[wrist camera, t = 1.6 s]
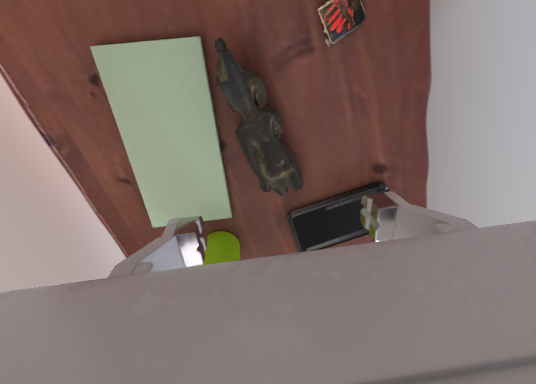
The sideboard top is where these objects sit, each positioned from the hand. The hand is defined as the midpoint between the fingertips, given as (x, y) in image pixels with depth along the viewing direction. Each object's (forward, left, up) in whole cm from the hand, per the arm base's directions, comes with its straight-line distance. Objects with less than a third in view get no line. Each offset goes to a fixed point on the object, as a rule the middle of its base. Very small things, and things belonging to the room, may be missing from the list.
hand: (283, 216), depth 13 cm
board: (+1, -11, -21) cm, 24 cm away
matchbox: (-11, +10, -21) cm, 26 cm away
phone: (+15, +11, -21) cm, 28 cm away
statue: (0, 0, -22) cm, 22 cm away
